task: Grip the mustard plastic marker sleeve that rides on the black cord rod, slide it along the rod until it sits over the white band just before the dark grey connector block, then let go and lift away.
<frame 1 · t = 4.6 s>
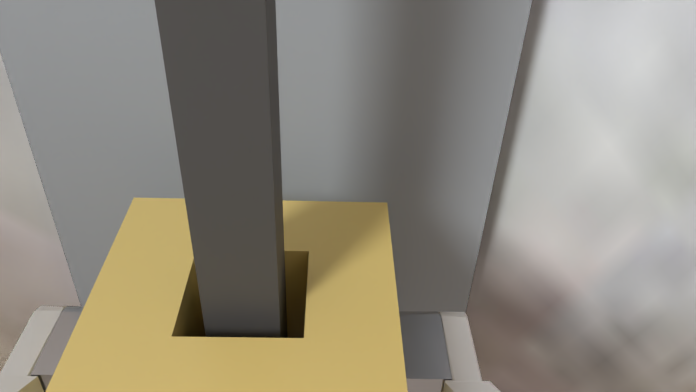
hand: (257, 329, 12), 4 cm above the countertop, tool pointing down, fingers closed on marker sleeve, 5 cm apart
marker sleeve: (252, 367, 11), point 5 cm above the countertop, slide at 0.0 cm, touching gripper
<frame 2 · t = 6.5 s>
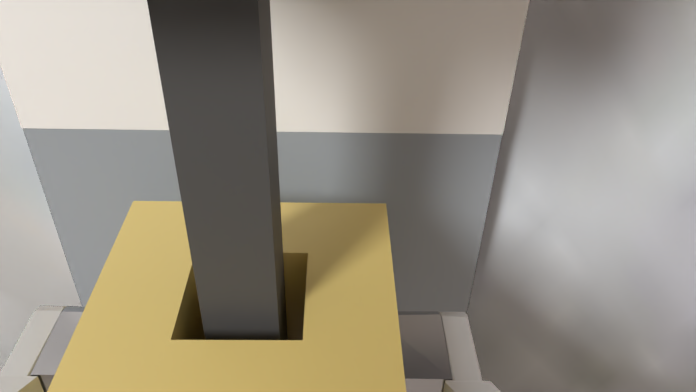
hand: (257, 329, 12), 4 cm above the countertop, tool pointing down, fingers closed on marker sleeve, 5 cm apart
marker sleeve: (253, 369, 11), point 4 cm above the countertop, slide at 7.7 cm, touching gripper
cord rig: (276, 254, 16), on the countertop
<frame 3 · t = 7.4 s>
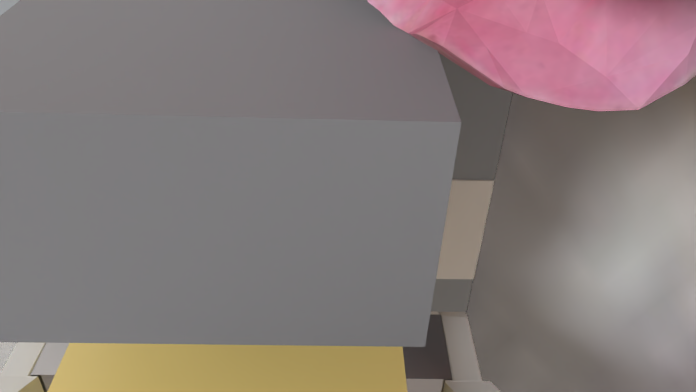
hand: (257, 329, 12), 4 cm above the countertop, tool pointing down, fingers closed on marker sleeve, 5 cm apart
marker sleeve: (253, 370, 11), point 5 cm above the countertop, slide at 11.8 cm, touching gripper
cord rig: (280, 360, 18), on the countertop
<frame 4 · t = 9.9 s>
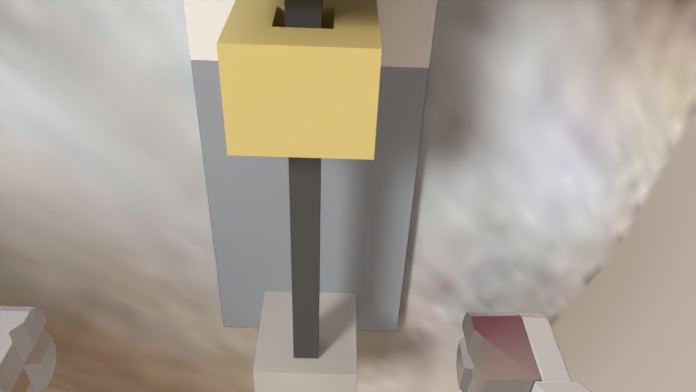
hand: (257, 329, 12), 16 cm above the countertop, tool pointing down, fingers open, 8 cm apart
marker sleeve: (304, 71, 22), point 4 cm above the countertop, slide at 11.9 cm
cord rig: (311, 138, 29), on the countertop
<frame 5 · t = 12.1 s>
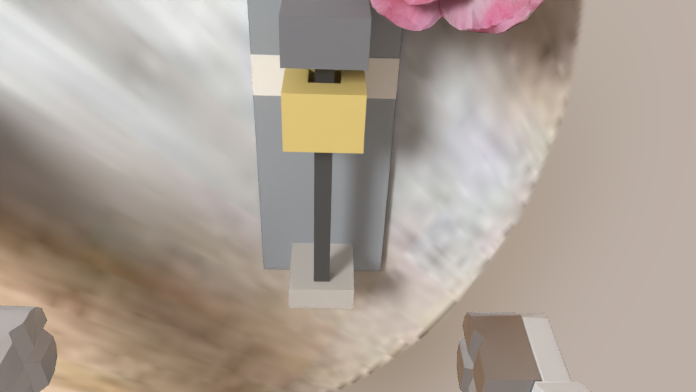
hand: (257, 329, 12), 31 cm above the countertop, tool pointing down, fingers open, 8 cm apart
marker sleeve: (324, 104, 39), point 4 cm above the countertop, slide at 11.9 cm
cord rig: (324, 141, 46), on the countertop
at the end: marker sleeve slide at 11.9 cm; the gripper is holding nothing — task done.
